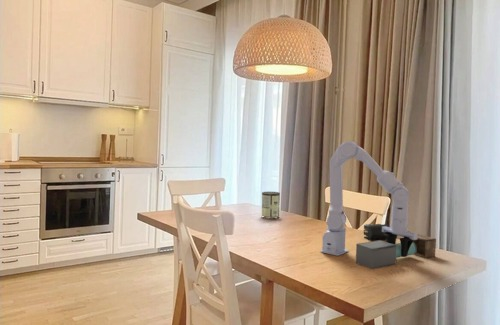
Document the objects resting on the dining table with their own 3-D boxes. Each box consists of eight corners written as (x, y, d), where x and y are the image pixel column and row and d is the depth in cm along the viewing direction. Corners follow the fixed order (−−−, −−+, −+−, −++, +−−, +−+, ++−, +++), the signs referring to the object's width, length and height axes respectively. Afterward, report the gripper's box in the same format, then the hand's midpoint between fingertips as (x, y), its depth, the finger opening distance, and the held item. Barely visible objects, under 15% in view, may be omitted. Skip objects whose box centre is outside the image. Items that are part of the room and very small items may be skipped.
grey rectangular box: (372, 269, 133) (372, 249, 132) (355, 262, 139) (356, 243, 139) (395, 264, 139) (396, 245, 138) (378, 258, 145) (379, 240, 145)
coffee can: (266, 214, 229) (267, 190, 228) (282, 216, 223) (283, 192, 222) (258, 217, 220) (258, 192, 219) (273, 219, 214) (274, 194, 214)
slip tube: (372, 264, 135) (373, 250, 134) (362, 260, 139) (362, 247, 139) (416, 256, 146) (417, 243, 146) (405, 252, 151) (405, 240, 150)
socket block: (426, 258, 147) (427, 240, 147) (409, 252, 154) (409, 235, 154) (435, 256, 150) (436, 238, 149) (417, 251, 157) (417, 234, 156)
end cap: (372, 241, 170) (372, 226, 170) (362, 237, 177) (363, 223, 177) (390, 240, 174) (391, 225, 173) (380, 236, 180) (381, 222, 180)
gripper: (423, 221, 140) (421, 258, 140) (391, 214, 152) (389, 248, 153) (410, 223, 136) (409, 261, 137) (378, 215, 149) (377, 250, 149)
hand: (397, 254), depth 145 cm, fingers closed on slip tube, 5 cm apart
